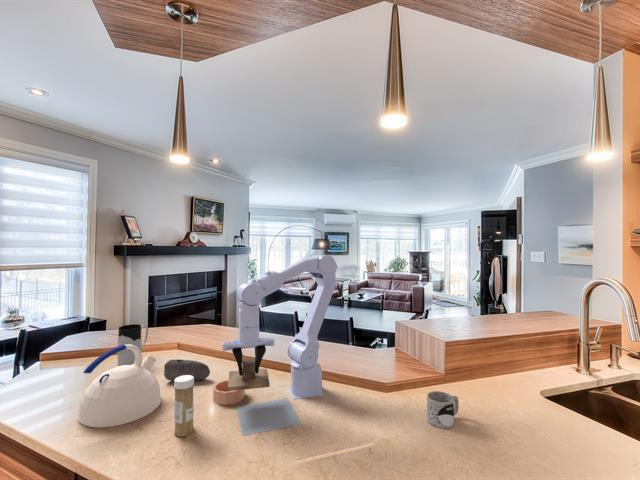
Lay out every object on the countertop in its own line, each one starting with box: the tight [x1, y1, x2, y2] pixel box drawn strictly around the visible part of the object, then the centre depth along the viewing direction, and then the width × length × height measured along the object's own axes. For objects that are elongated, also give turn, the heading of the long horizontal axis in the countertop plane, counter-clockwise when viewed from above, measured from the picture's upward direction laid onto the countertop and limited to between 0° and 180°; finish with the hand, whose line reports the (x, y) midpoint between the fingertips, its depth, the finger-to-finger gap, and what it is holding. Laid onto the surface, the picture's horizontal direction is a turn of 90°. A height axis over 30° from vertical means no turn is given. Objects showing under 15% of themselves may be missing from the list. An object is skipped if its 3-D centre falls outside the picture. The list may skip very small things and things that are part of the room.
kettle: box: [77, 344, 162, 429], centre depth 94 cm, size 20×21×18 cm
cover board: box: [228, 358, 270, 391], centre depth 94 cm, size 11×11×6 cm
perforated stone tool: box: [163, 359, 211, 382], centre depth 113 cm, size 15×5×7 cm, turn 90°
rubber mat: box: [236, 397, 303, 436], centre depth 89 cm, size 15×15×1 cm
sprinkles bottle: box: [173, 375, 195, 438], centre depth 82 cm, size 5×5×14 cm
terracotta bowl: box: [212, 379, 246, 406], centre depth 99 cm, size 9×9×4 cm
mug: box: [426, 390, 460, 430], centre depth 87 cm, size 10×7×7 cm, turn 117°
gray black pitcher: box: [116, 324, 149, 367], centre depth 128 cm, size 9×14×15 cm, turn 171°
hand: (248, 373), depth 94 cm, fingers closed on cover board, 4 cm apart
